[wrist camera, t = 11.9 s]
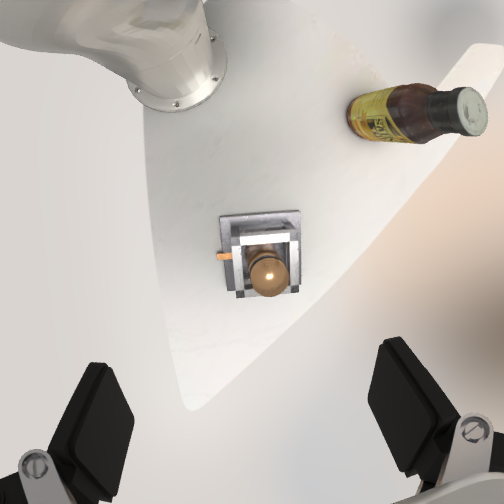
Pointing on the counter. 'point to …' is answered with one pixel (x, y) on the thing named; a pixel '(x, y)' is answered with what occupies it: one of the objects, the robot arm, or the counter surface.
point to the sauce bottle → (417, 113)
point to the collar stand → (260, 232)
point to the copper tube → (266, 269)
